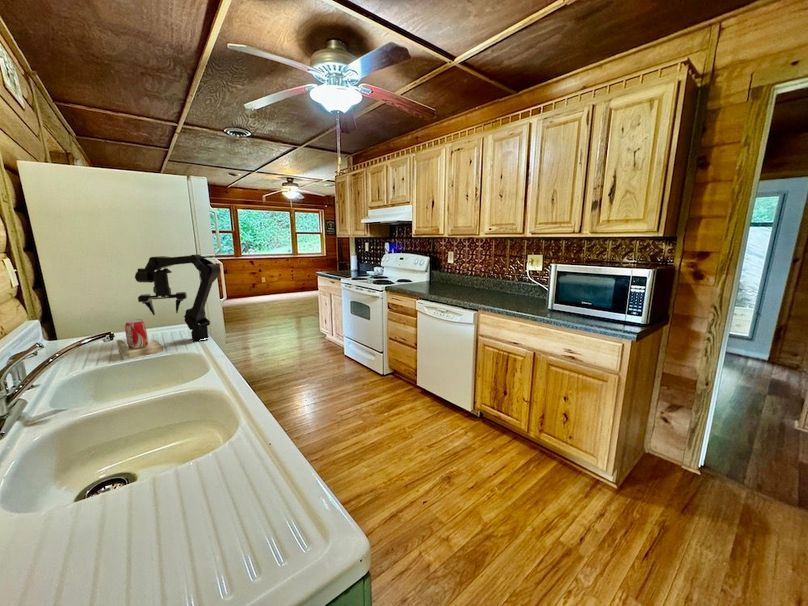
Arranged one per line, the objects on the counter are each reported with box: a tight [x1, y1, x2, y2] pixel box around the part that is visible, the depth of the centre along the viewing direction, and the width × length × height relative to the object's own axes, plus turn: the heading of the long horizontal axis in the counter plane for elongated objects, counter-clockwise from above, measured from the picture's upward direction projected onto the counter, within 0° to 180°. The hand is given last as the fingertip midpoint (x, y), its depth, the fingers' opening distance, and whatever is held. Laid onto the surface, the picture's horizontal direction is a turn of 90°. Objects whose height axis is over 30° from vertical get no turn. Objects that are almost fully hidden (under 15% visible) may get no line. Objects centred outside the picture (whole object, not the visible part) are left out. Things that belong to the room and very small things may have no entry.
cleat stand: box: [116, 339, 164, 360], centre depth 145 cm, size 14×12×6 cm
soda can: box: [124, 318, 149, 349], centre depth 143 cm, size 7×7×12 cm
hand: (165, 314), depth 161 cm, fingers open, 9 cm apart
